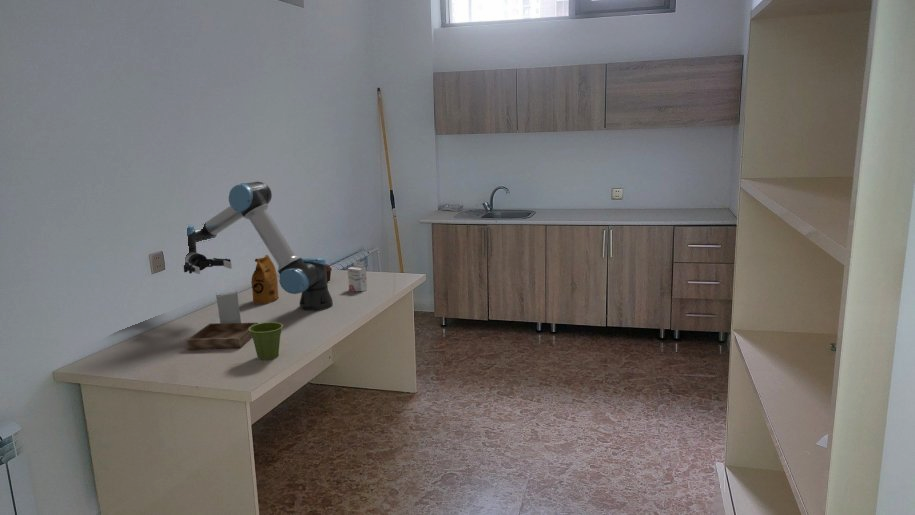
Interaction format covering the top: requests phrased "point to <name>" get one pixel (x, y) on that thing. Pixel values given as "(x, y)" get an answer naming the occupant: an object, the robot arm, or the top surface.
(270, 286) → the coffee package
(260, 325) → the plant pot
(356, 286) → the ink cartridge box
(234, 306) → the skincare box
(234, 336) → the walnut tray
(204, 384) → the top surface
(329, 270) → the muffin
